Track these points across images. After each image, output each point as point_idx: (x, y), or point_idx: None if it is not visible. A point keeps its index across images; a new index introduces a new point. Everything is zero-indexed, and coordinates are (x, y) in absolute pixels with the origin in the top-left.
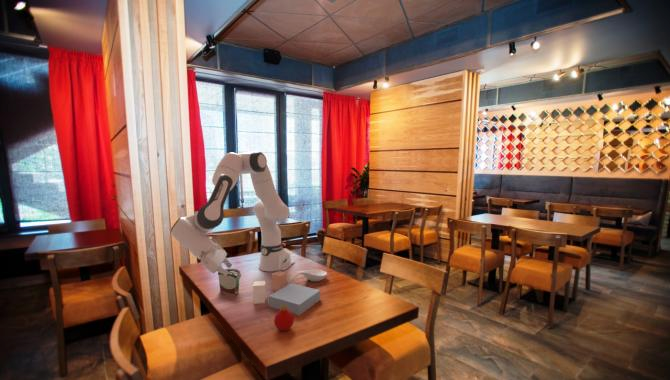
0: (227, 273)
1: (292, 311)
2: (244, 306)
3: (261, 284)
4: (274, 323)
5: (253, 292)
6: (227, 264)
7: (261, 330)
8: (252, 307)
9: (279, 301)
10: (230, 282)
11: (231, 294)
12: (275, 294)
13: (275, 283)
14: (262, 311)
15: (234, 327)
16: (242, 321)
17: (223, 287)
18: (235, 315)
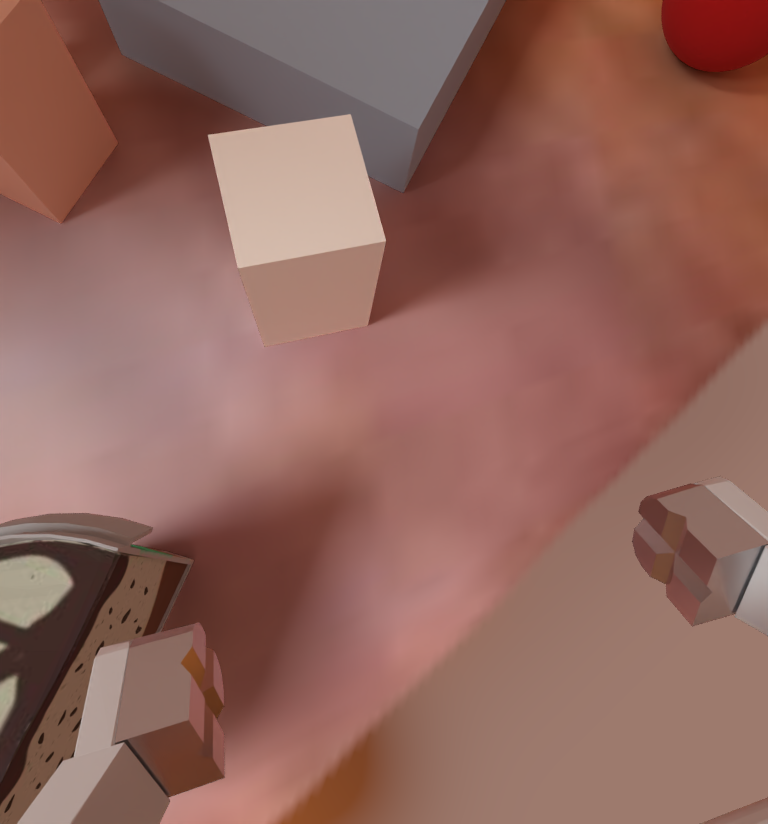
0: (723, 494)
1: (501, 4)
2: (422, 385)
3: (332, 154)
4: (766, 53)
5: (375, 275)
6: (156, 778)
7: (730, 172)
8: (434, 313)
9: (465, 50)
10: None
11: (169, 613)
12: (380, 74)
13: (44, 134)
14: (490, 220)
15: (735, 352)
16: (652, 323)
17: None
18: (579, 406)
